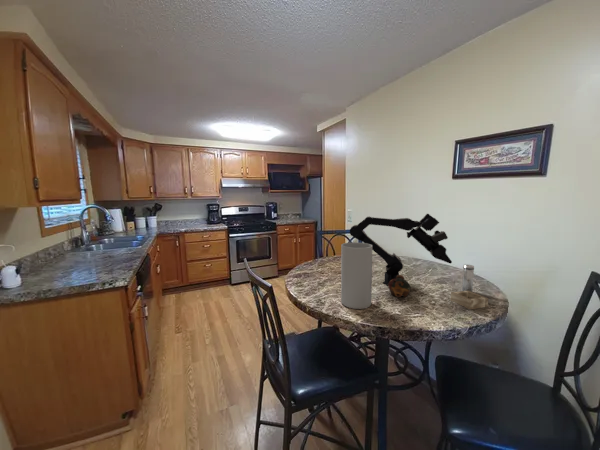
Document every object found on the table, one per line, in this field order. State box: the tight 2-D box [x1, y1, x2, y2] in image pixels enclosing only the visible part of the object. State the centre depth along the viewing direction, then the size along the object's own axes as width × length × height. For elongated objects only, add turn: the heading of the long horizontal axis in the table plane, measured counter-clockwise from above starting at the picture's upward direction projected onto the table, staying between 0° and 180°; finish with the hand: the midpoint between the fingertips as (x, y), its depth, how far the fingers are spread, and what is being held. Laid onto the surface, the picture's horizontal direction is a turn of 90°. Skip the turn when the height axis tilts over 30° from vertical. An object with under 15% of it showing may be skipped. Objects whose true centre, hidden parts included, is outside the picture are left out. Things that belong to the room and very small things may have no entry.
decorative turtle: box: [387, 274, 412, 298], centre depth 110 cm, size 10×15×8 cm, turn 160°
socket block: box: [450, 290, 489, 310], centre depth 100 cm, size 9×9×4 cm
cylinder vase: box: [340, 242, 373, 310], centre depth 101 cm, size 12×12×25 cm
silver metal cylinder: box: [461, 264, 475, 292], centre depth 113 cm, size 4×4×12 cm
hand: (448, 260), depth 115 cm, fingers open, 9 cm apart
